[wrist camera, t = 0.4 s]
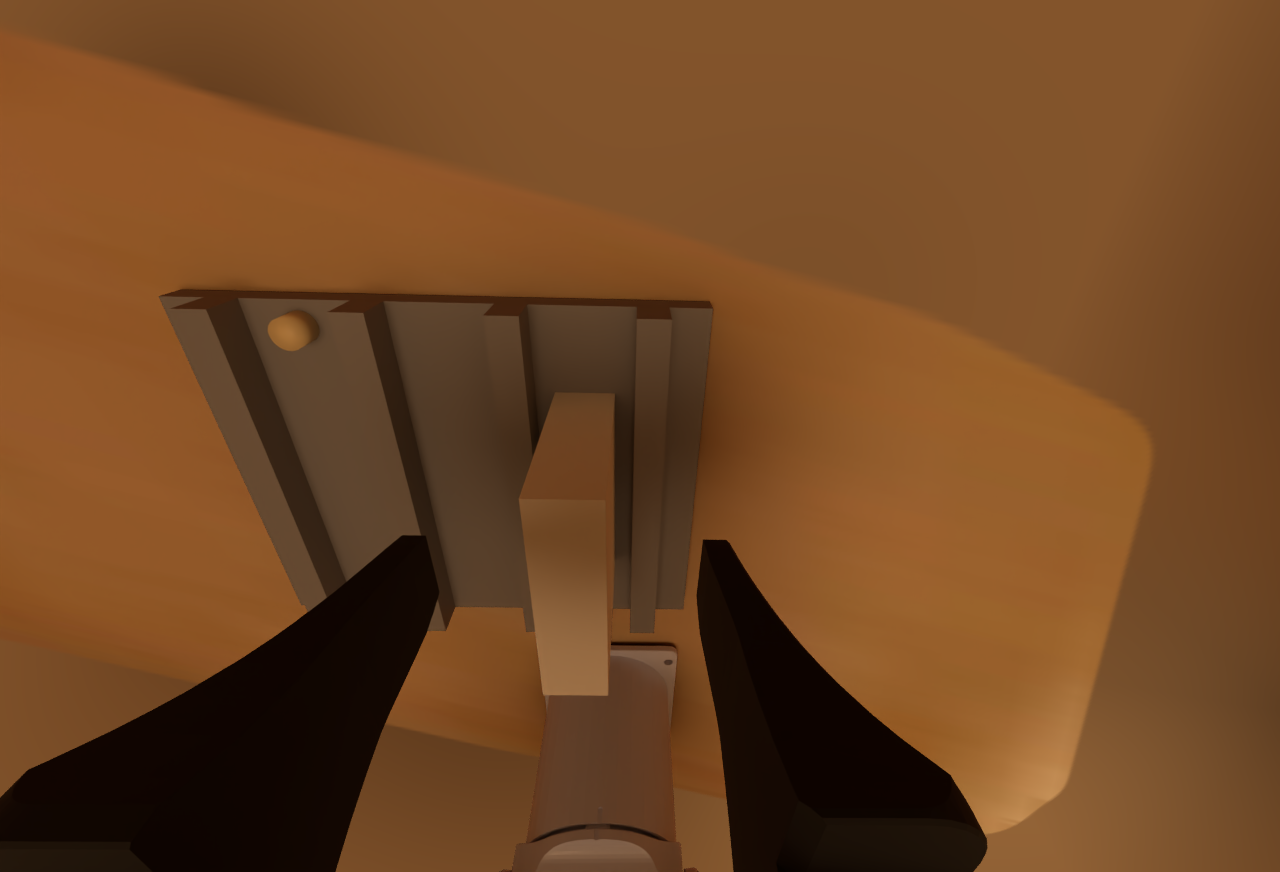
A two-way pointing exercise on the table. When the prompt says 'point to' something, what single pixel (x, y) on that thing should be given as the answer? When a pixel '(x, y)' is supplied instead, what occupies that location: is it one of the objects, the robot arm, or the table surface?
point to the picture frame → (572, 542)
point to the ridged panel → (448, 428)
